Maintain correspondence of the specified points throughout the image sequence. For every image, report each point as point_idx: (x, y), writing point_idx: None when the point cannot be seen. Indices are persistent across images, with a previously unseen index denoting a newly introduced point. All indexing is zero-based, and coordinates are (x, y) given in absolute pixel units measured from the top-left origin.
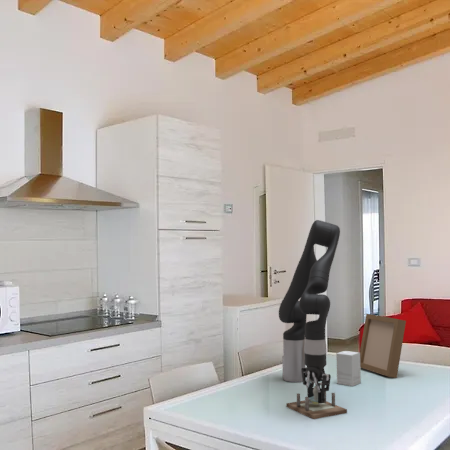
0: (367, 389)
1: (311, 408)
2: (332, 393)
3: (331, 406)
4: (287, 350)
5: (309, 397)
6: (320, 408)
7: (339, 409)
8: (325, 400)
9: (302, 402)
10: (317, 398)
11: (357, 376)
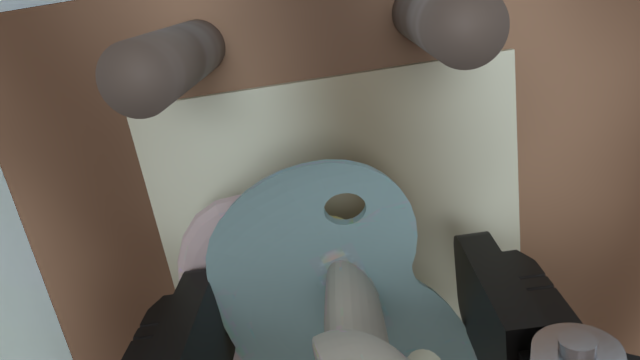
0: None
1: (424, 350)
2: (486, 63)
3: (457, 72)
4: None
5: (240, 354)
6: None
7: (615, 21)
8: (219, 47)
9: (128, 323)
10: (376, 302)
11: None
